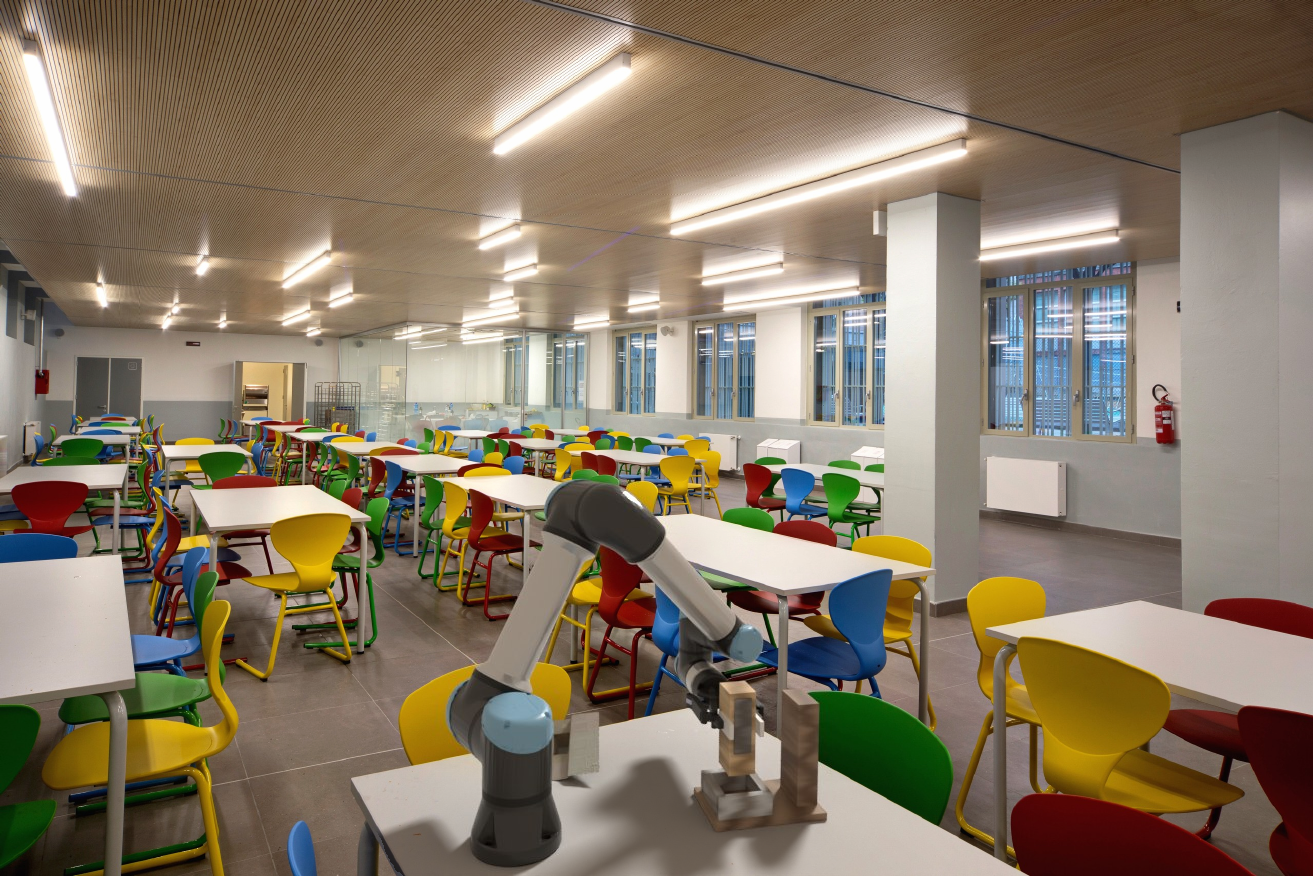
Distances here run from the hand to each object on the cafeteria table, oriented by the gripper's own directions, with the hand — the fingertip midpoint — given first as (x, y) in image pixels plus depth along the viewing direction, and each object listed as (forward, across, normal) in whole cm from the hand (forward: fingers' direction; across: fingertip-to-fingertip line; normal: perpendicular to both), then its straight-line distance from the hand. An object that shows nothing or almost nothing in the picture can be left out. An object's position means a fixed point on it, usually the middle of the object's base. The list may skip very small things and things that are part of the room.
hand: (746, 730), depth 135 cm
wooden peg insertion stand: (-5, -4, -17) cm, 18 cm away
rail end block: (-5, 0, -9) cm, 10 cm away
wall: (-28, +30, -17) cm, 44 cm away
